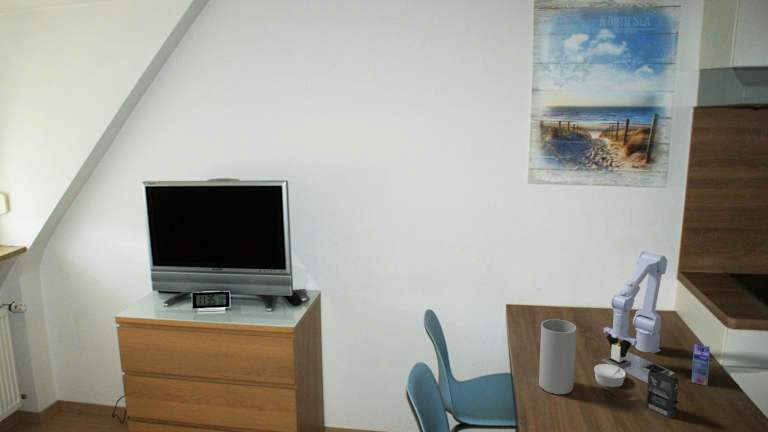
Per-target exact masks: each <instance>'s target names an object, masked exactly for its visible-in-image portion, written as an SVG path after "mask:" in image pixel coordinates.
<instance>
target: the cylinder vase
mask: <svg viewBox="0 0 768 432" xmlns="http://www.w3.org/2000/svg"><path fill="white" fill-rule="evenodd" d="M540 325H541V327H540V346H539V349H540V350H539V372H538V374H539V375H538V385H539V387H540V388H541V389H542V390H543V389H544V390H543V391H545V392H546V393H550V394H552V393H553V395H566V394H567V395H568V394H569V393H572V391H573V389H574V379H575V378H574V377H575V376H574V375H575V362H576V361H575V358H576V345H577V344H576V340H577V326H576V325H575V323H572V322H570V321H567V320H563V319H558V318H557V319H553V318H552V319H546V320H543V321H542V322H541V323H540Z"/></svg>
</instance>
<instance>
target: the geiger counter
mask: <svg viewBox="0 0 768 432" xmlns="http://www.w3.org/2000/svg"><path fill="white" fill-rule="evenodd" d="M646 384H647V386H646V387H647V388H646V398H645V408H646V409H649V410H651V411H653V412H655V413H657V414H659V415H661V416H664V417H665V418H669V419H674V417H676V416H677V412H678V410H679V408H677V406H678V405H679V401H678V394H679V384H680V378H679V377H678V375H675V376H671V375H670V376H669V375H666V374H663V373H661V372H658V371H656V370H655V369H654V367H652V368H651V370H650V371H649V373H648V383H646Z"/></svg>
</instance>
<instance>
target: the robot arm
mask: <svg viewBox="0 0 768 432" xmlns="http://www.w3.org/2000/svg"><path fill="white" fill-rule="evenodd" d="M636 262H637V267H636V269H635V271H634V273H633V275H632V277H631V279H630V280H627V281H626V282H625V284H624V285H623V287H622V288H621V290H620V291H619V293H618V294H616V295H614V296H613V297H612V299H611V302H610V304H611V307H612V312H613V321H612V322H613V323H612V328H610V327H608V326H607V327H603V333H604V334H608V335H606V339H607V342H608V343H609V348H610V350H611V349H612V344H615V343H620V346H621V357H622V358H623V357H626V354H627V352H629V350H630V348H631V347H632V346H635V349H636V350H638V351H640V352H644V353H651V354H657V353H659V352H661V350H662V349H660V339H661V335H660V334H659V333H660V331H661V328H662V323H661V322H662V321H661V320H662V317H661V315H659V313H658V312H657V311H656V306H657V303H658V298H659V292H660V286H661V281H662V275H665V274H666V272H667V266H668V259H667V258H666V255H661V254H656V253H650V252H646V251H641V252H640V253H639V254H638V257H637V261H636ZM646 276H647V281H646V287H645V292H644V297H643V304H642V308H641V309H638V310H637V311H635V315H634V317H633V319H632V325H633V328H635V329H634V330H635V331H636V336H635V337H636V338H634V337H632V335H630V334H629V321H630V311H631V310H632V309H633V307H634V303H635V297H636V296H637V295H638V293H639V291H640V290H641V286H640V285H641V283H642V282H643V281H644V280H645V278H646ZM619 339H620V340H622V341H619Z"/></svg>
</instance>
